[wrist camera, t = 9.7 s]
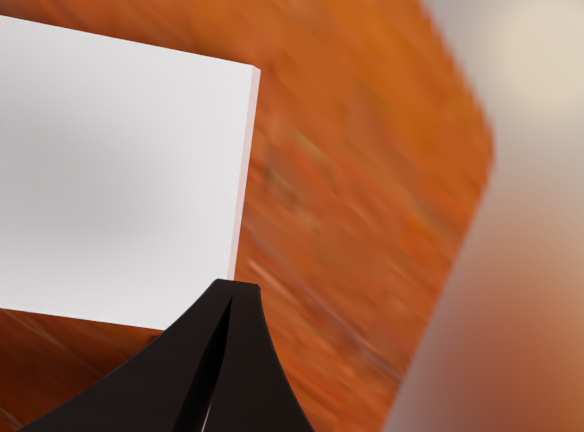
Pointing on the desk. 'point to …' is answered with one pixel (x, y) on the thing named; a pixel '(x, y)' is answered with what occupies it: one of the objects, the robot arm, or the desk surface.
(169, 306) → the white flat block
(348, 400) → the desk surface
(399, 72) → the desk surface
